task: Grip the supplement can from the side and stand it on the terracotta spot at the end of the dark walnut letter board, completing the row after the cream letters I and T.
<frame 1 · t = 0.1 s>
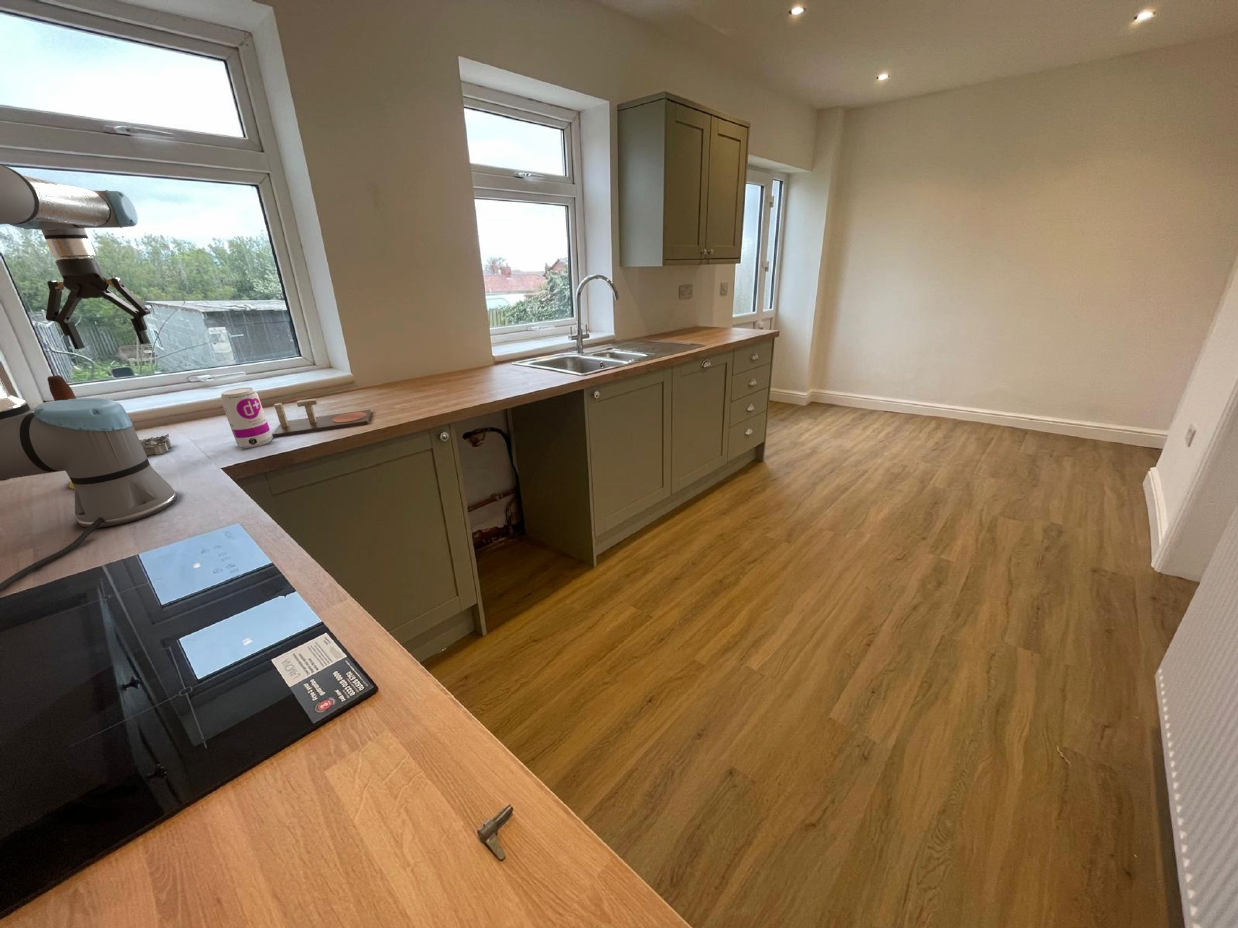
hand: (113, 346, 131), 28 cm above the worktop, tool pointing down, fingers open, 13 cm apart
supplement can: (256, 444, 140), on the worktop
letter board: (325, 424, 153), on the worktop
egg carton: (147, 453, 137), on the worktop
handbell: (105, 478, 121), on the worktop
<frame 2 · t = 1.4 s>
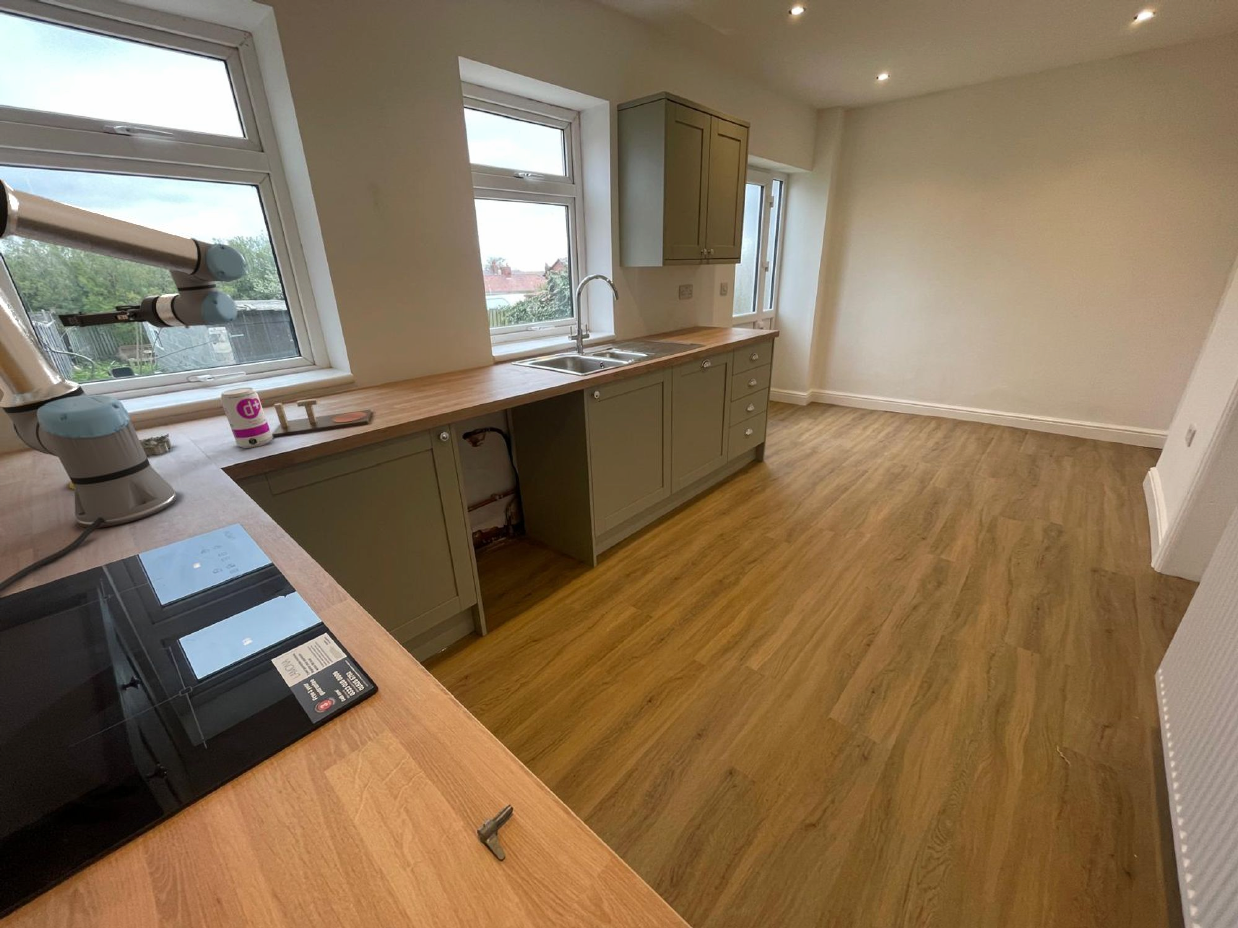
hand: (91, 315, 125), 36 cm above the worktop, tool horizontal, fingers open, 13 cm apart
nothing on the worktop moved.
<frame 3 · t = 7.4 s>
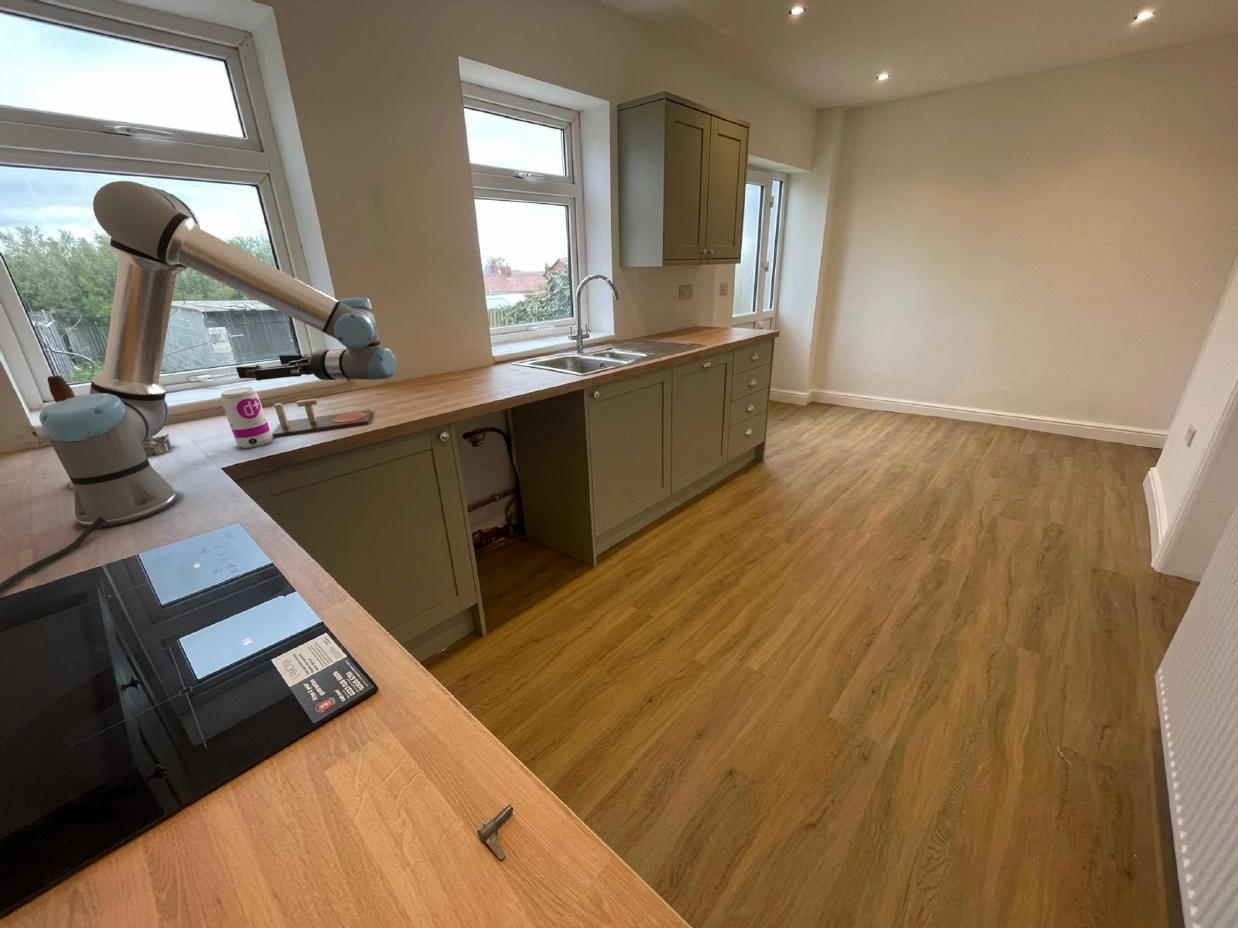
hand: (261, 366, 129), 22 cm above the worktop, tool horizontal, fingers open, 13 cm apart
nothing on the worktop moved.
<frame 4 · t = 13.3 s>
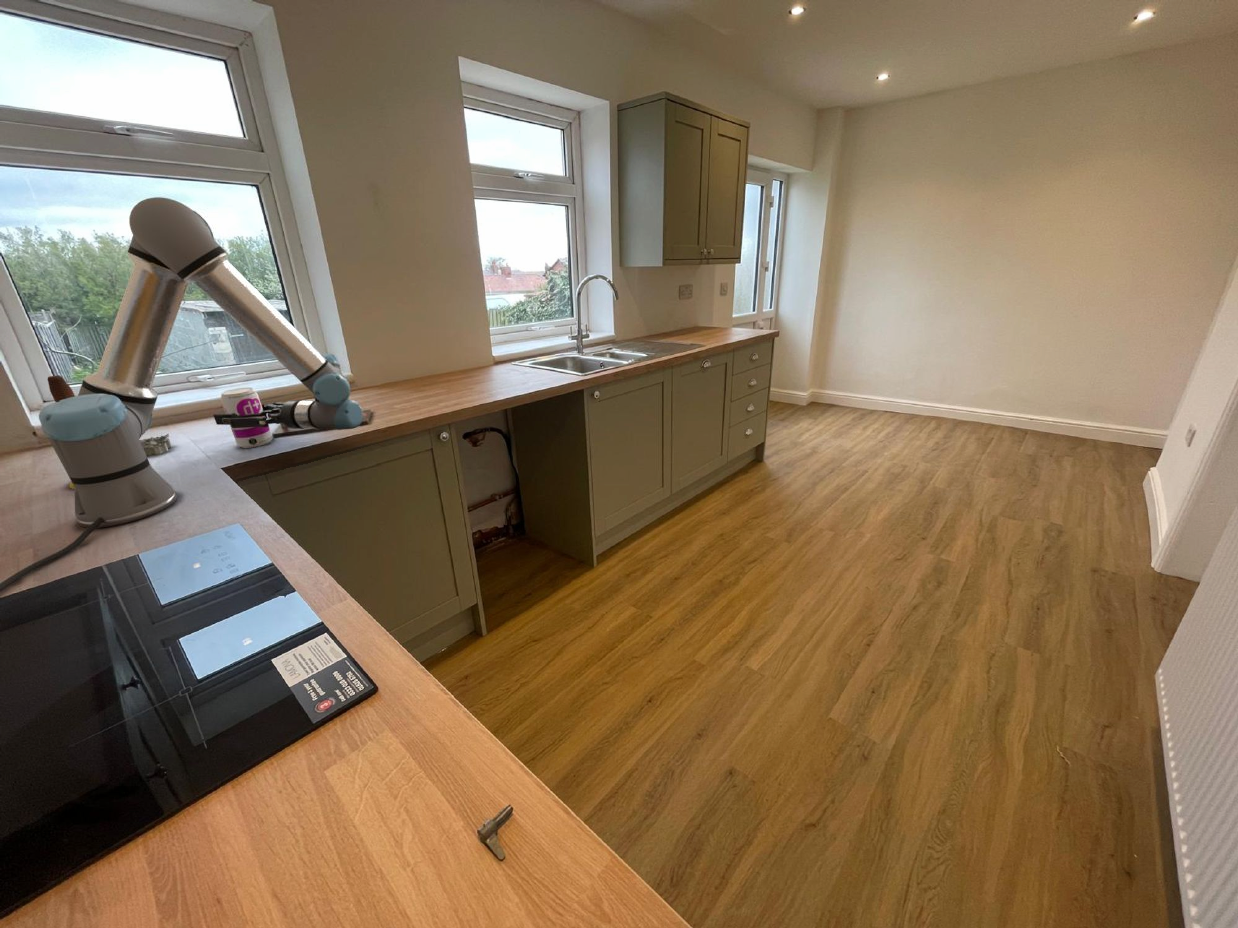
hand: (230, 414, 137), 8 cm above the worktop, tool horizontal, fingers closed on supplement can, 8 cm apart
supplement can: (256, 444, 140), on the worktop, touching gripper
everything else where it was.
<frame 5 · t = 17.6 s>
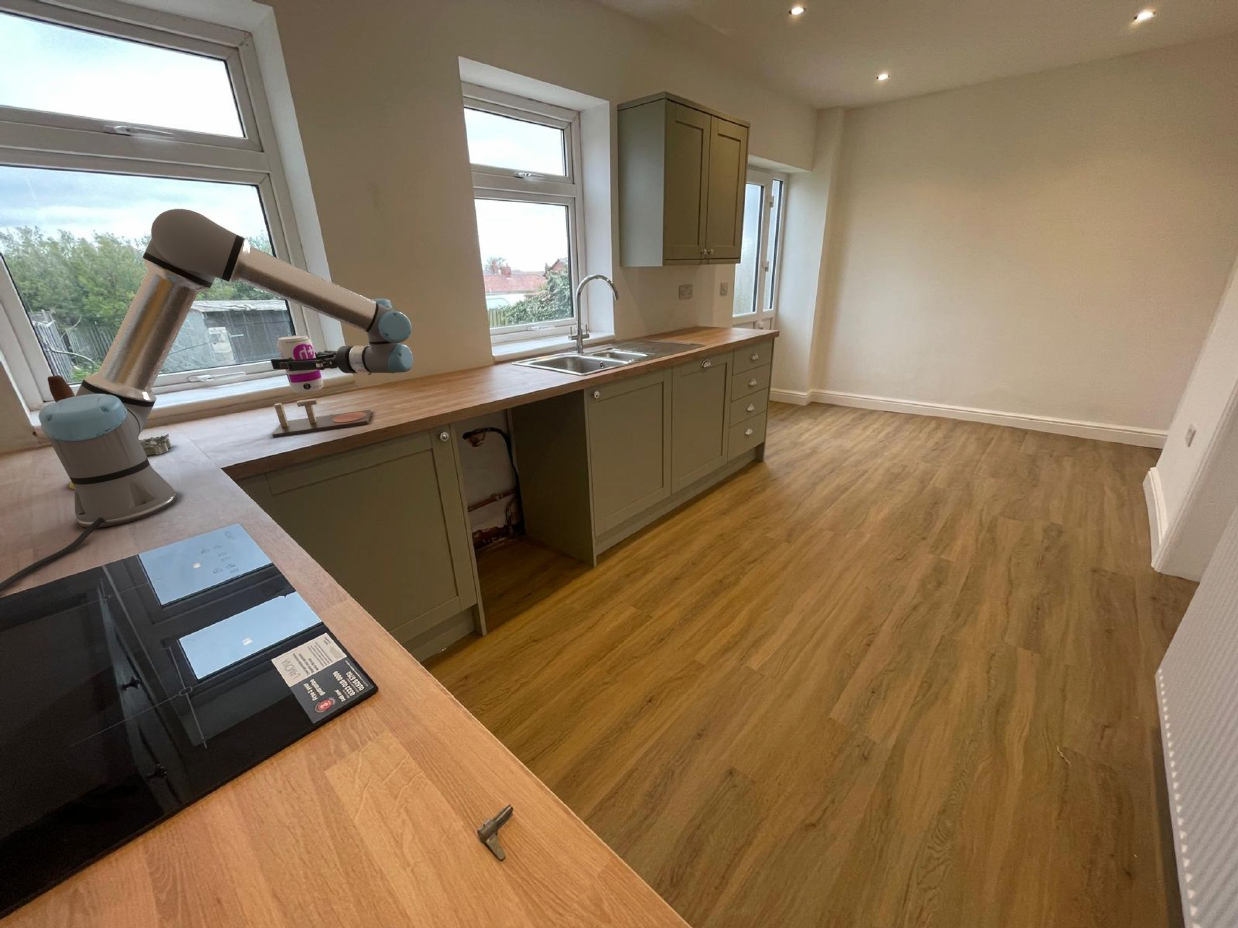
hand: (285, 360, 143), 20 cm above the worktop, tool horizontal, fingers closed on supplement can, 8 cm apart
supplement can: (308, 390, 145), point 12 cm above the worktop, touching gripper
everything else where it was.
when the fingers open (10 cm above the worktop, at t = 22.0 s): supplement can stays where it is, resting on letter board.
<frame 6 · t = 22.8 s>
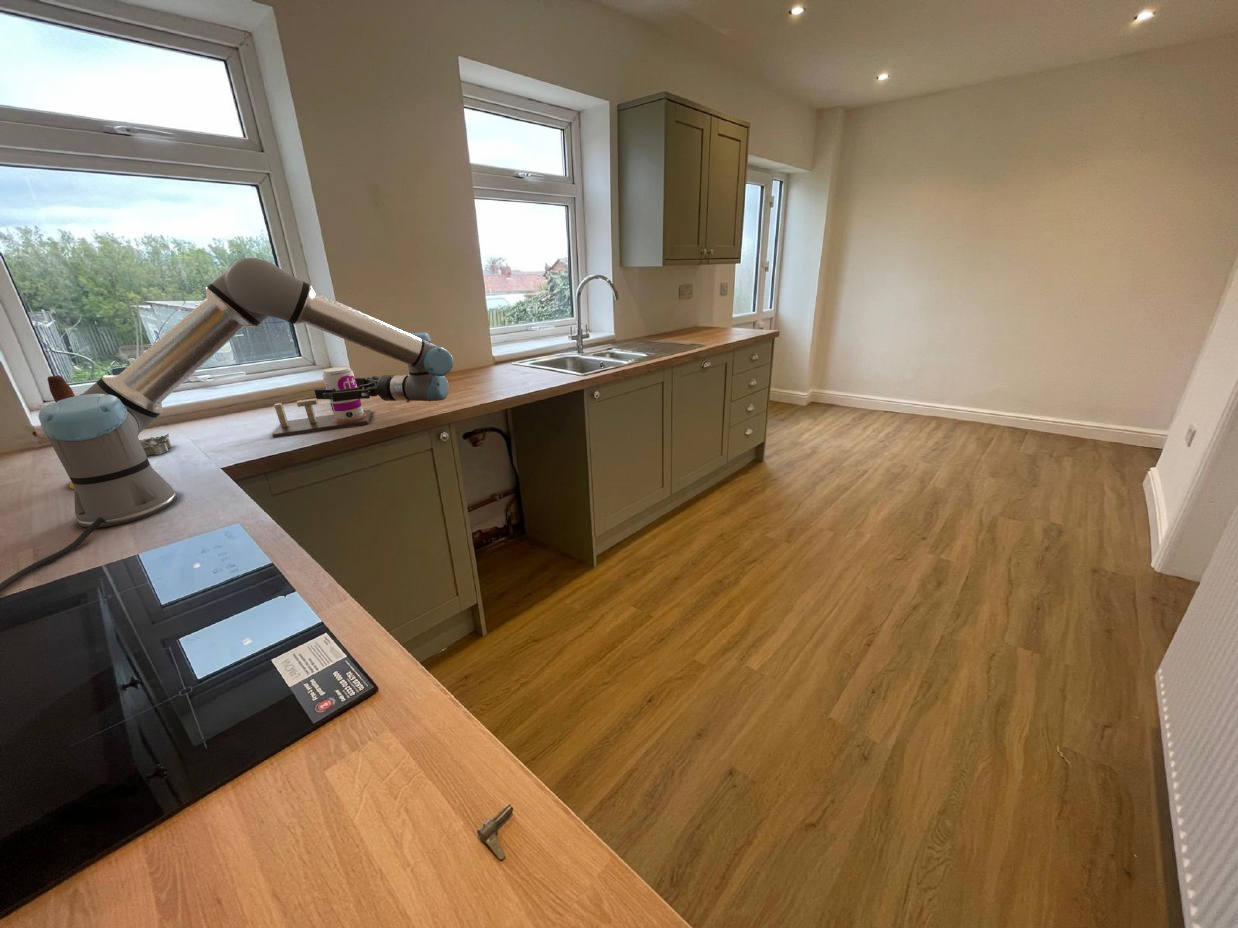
hand: (332, 388, 152), 10 cm above the worktop, tool horizontal, fingers open, 13 cm apart
supplement can: (349, 417, 155), point 1 cm above the worktop, touching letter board
everything else where it was.
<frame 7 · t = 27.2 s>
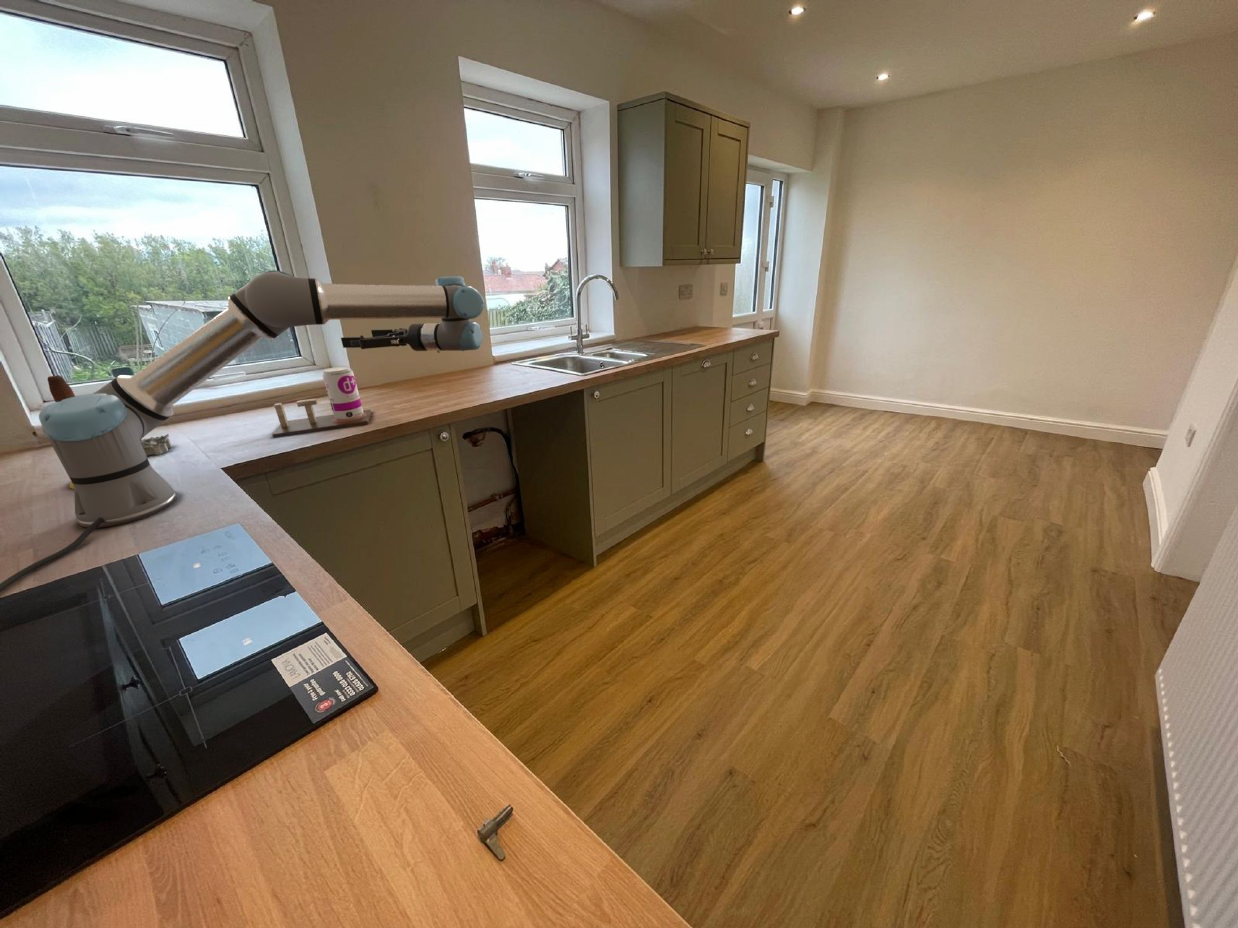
hand: (358, 338, 144), 25 cm above the worktop, tool horizontal, fingers open, 13 cm apart
nothing on the worktop moved.
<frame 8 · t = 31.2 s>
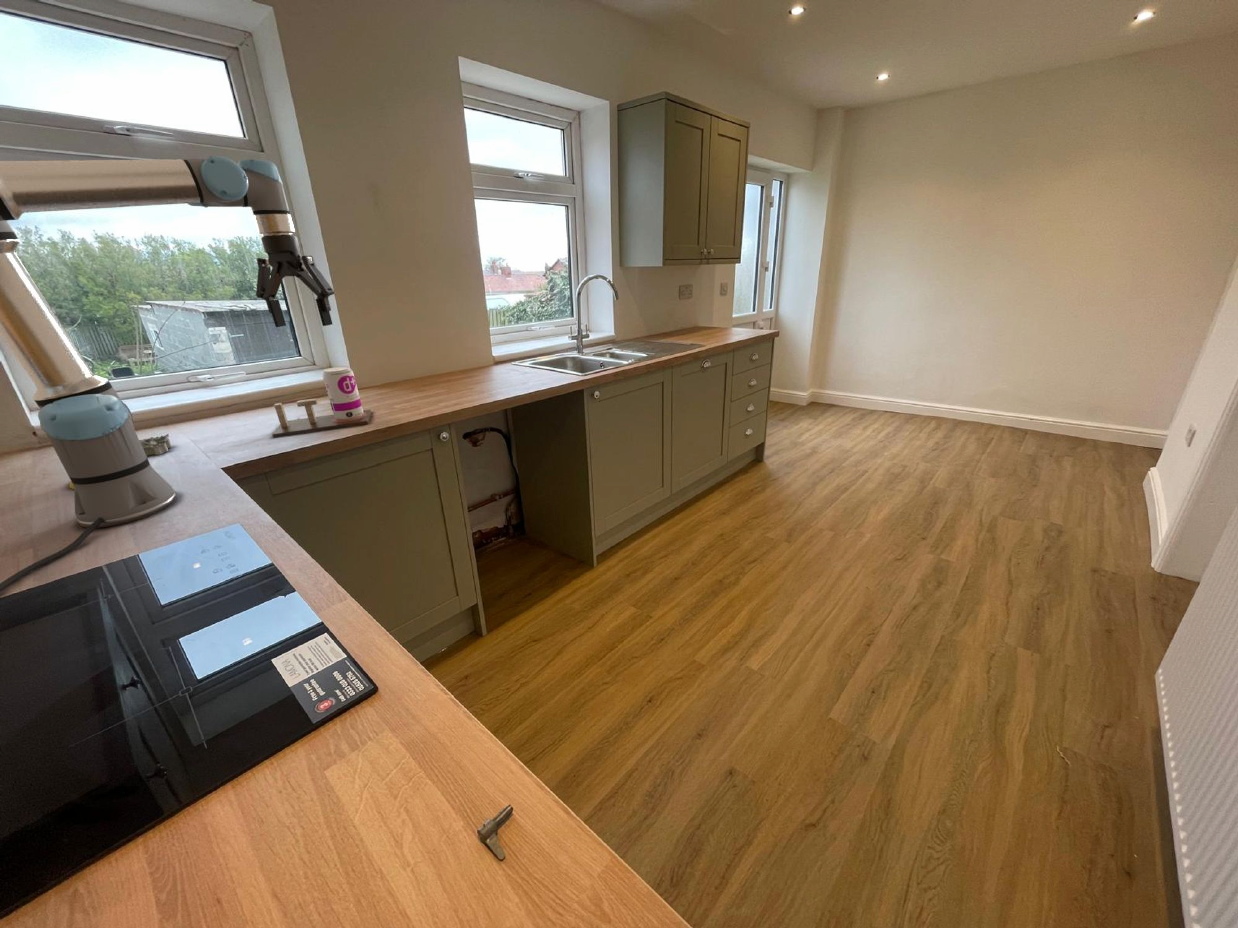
hand: (304, 326, 129), 31 cm above the worktop, tool pointing down, fingers open, 13 cm apart
nothing on the worktop moved.
at the end: supplement can inside the target area (0.1 cm from its centre), point 1.0 cm above the worktop; supplement can tilted 0°; the gripper is holding nothing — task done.
